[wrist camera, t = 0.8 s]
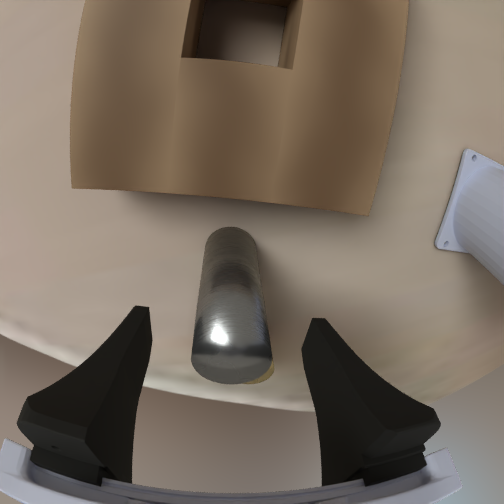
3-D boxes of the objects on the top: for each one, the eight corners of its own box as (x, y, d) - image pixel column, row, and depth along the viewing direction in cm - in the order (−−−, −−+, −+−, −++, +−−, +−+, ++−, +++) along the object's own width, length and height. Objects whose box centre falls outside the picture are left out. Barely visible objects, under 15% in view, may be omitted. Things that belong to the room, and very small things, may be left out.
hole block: (374, -41, 10) (409, -65, 6) (338, 187, 17) (368, 216, 13) (143, -71, 8) (123, -103, 4) (106, 164, 16) (71, 188, 12)
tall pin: (259, 229, 18) (279, 335, 11) (251, 272, 20) (265, 385, 12) (206, 224, 18) (191, 330, 10) (203, 268, 20) (191, 381, 12)
